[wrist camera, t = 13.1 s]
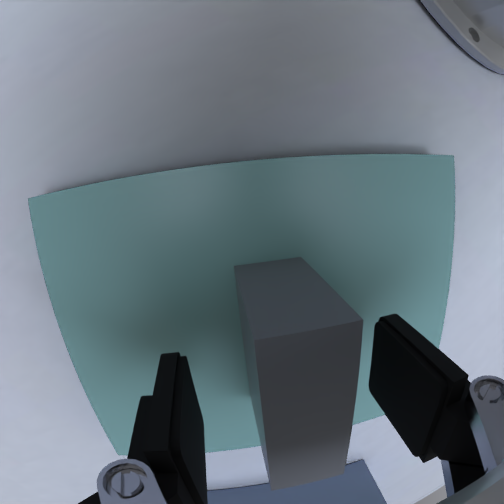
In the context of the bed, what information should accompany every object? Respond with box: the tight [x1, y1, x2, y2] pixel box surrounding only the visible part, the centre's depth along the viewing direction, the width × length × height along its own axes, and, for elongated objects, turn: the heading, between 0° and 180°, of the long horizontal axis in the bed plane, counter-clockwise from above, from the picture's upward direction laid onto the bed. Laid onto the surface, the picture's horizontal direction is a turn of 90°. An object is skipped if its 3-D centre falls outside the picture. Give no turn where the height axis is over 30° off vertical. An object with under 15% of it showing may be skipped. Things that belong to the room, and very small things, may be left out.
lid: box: [28, 154, 455, 491], centre depth 11 cm, size 17×13×7 cm
